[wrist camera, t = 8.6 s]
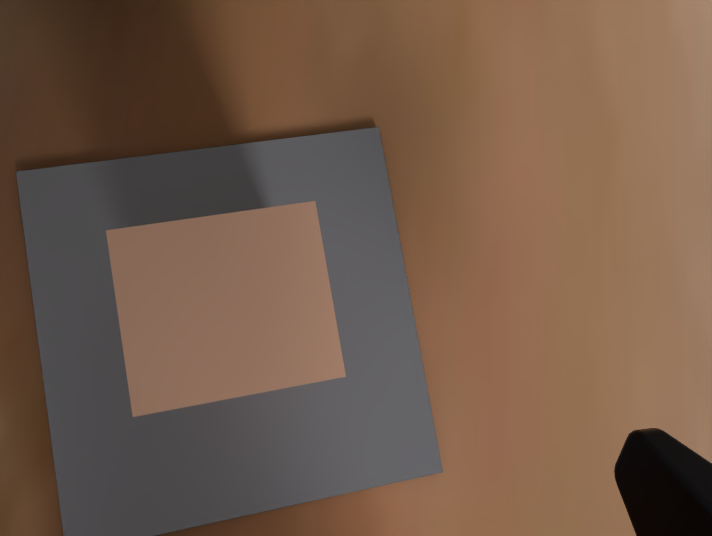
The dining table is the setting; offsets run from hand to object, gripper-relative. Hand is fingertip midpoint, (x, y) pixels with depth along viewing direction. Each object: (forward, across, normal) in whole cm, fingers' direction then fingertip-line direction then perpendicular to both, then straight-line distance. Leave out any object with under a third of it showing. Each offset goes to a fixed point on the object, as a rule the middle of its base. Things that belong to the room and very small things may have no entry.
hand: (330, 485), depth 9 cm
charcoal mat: (+12, +1, +7) cm, 14 cm away
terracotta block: (+12, +1, +7) cm, 14 cm away
